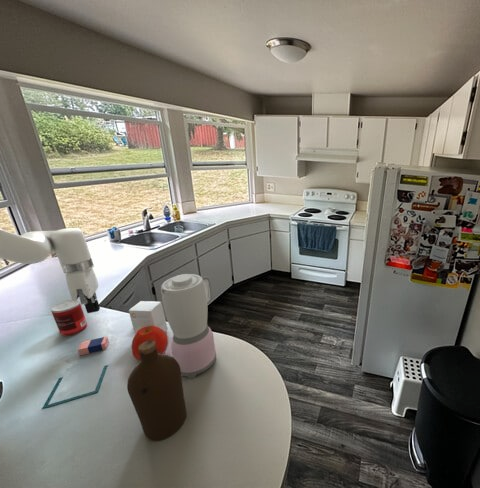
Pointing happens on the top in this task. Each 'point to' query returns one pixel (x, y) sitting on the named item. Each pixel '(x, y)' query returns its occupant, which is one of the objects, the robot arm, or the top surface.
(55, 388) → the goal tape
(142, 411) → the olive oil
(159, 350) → the apple
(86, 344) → the eraser
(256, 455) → the top surface
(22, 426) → the top surface
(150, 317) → the small box
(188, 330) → the blender
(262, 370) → the top surface
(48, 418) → the top surface
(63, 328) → the canned food
